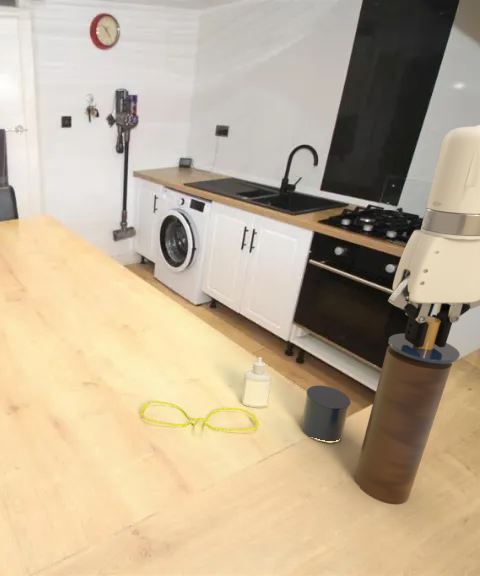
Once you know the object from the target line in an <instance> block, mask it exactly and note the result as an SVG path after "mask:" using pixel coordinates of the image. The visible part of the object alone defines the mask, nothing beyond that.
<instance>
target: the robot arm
mask: <svg viewBox="0 0 480 576" xmlns="http://www.w3.org/2000/svg"><path fill="white" fill-rule="evenodd" d="M440 146H441V147H440V151H439V154H438V159H437V162H436V166H435V170H434V175H433V178H432V183H431V186H430V191H429V194H428V199H427V203H426V207H425V210H424V214H423V219H422V223H421V227H420V229H415V230H413V232H412V234H411V235H410V237H409V239H408V240H407V243H406V245H405V247H404V249H403V252H402V254H401V257H400V259H399V262H398V265H397V269H396V271H395V275H394V279H393V283H392V291H393V292H392V293H391V295H390V296H389V298H388V300H387V302H388V303H389V304H391V305H393V306H394V307H397V308H399V309H400V310H402V311H403V312H404V313H405V315H406V316H407V317H408V319H407V324H406V327H405V330H404V333H405V339H406V340H407V341H409V342H410V343H412V344H413V345H414V346H416V347H422V346H423V345H424V341H425V337H426V334H427V330H428V327H429V324H428V323H426V322H425V321H426V319H427V316H429V313H430V309H431V306H432V304H437V309H436V314H432V315H431V317H434V318H437V319H439V320H440V321H441V323H440V326H439V330H438V333H437V336H436V340H435V343H434V344H435V345H437V346H438V347H445V345H446V343H448V342H447V341H448V338H449V335H450V332H451V329H452V325H453V324H456V323H457V322H458V321H459V320H460V317H461V316H463V315H464V314H465V313H467V312H469V310H471V309H474V308H477V307H480V124H477V125H473V126H461V127H455V128H453V129H451V130H449V131H448V132H447V133H446V134H445V136H444V137H443V139H442V144H441V145H440ZM407 298H408V301H407V300H406V299H407Z"/></svg>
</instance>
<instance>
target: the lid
mask: <svg viewBox="0 0 480 576" xmlns="http://www.w3.org/2000/svg"><path fill="white" fill-rule="evenodd" d="M425 322H426V323H428V324H429V327H428V330H427V334H426V337H425V341H424V345H423V346H422V347H416V346H414V345H413V344H412V343H410V342H409V341H407V340H406V339H405V332H404V333H395V334H392V335H390V336H389V338H388V346H390V347H391V348H393V349H394V350H395V351H397V352H399V353H400V354H403V355H405V356H407V357H410V358H413V359H416V360H420V361H424V362H430V363H439V364H446V363H452V364H453V363H456V362H457V361H458V360H460V356H461V354H460V351H459V350H458V349H457V348H456V347H455V346H453V345H452V344H450V343H448V342H446V345H445V347H438V346H437V345H435V344H434V343H435V340H436V336H437V333H438V330H439V326H440V323H441V321H440V320H439V319H437V318H434V317H432V316H429V315H428V316H427V319H426V321H425Z"/></svg>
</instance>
